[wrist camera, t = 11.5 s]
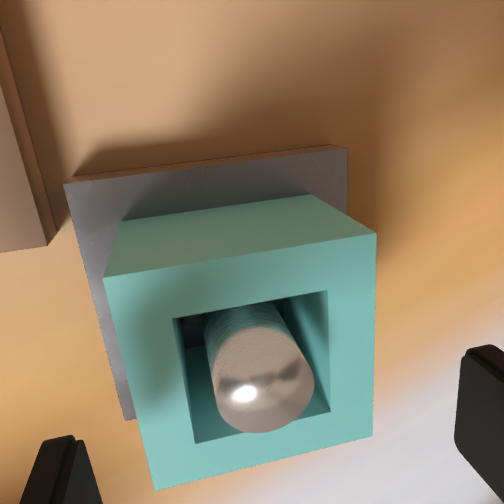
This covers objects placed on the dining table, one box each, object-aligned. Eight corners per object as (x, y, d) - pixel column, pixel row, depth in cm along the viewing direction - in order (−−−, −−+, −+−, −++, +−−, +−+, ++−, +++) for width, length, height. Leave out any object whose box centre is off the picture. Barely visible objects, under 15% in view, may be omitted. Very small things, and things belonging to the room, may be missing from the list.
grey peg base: (331, 144, 16) (456, 174, 10) (335, 352, 20) (428, 483, 13) (71, 176, 15) (-5, 241, 8) (127, 397, 18) (108, 573, 11)
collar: (311, 194, 15) (376, 233, 11) (317, 350, 18) (372, 436, 13) (120, 221, 14) (102, 277, 10) (155, 384, 17) (154, 490, 12)
